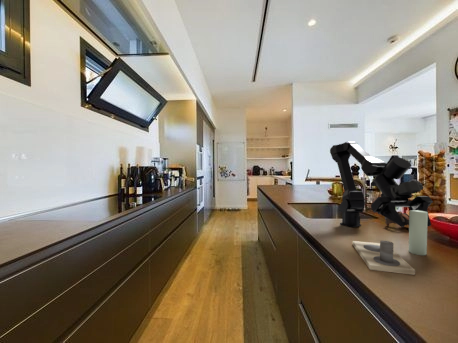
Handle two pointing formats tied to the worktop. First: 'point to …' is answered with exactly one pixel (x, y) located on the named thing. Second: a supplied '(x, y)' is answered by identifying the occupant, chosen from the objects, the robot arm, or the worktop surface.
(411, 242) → the sage pin
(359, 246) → the board
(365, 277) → the worktop surface
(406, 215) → the dark brown curved piece
